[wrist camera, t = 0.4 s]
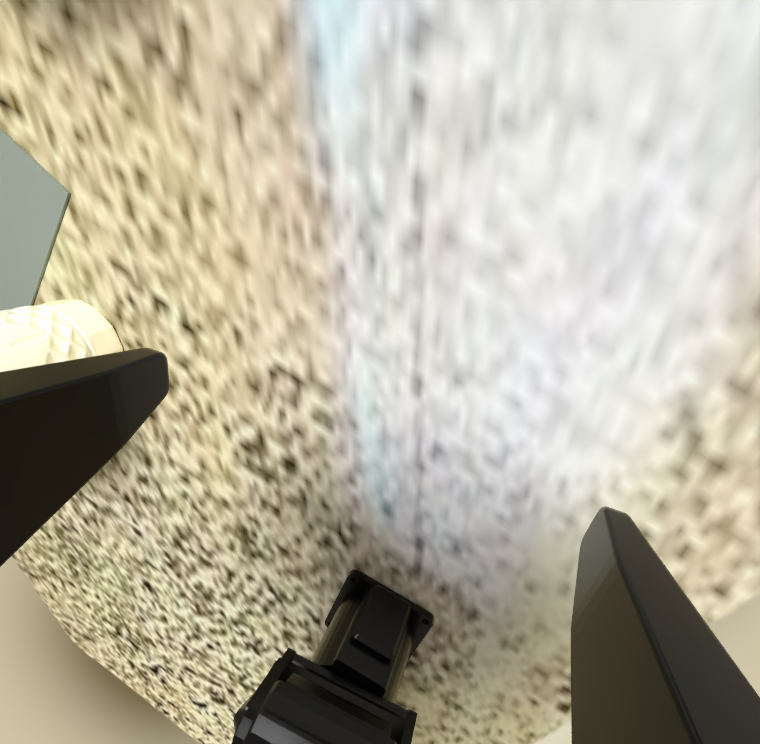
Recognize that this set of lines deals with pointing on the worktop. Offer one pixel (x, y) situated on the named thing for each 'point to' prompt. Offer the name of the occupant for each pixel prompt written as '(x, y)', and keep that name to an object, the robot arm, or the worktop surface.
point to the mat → (26, 223)
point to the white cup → (54, 334)
